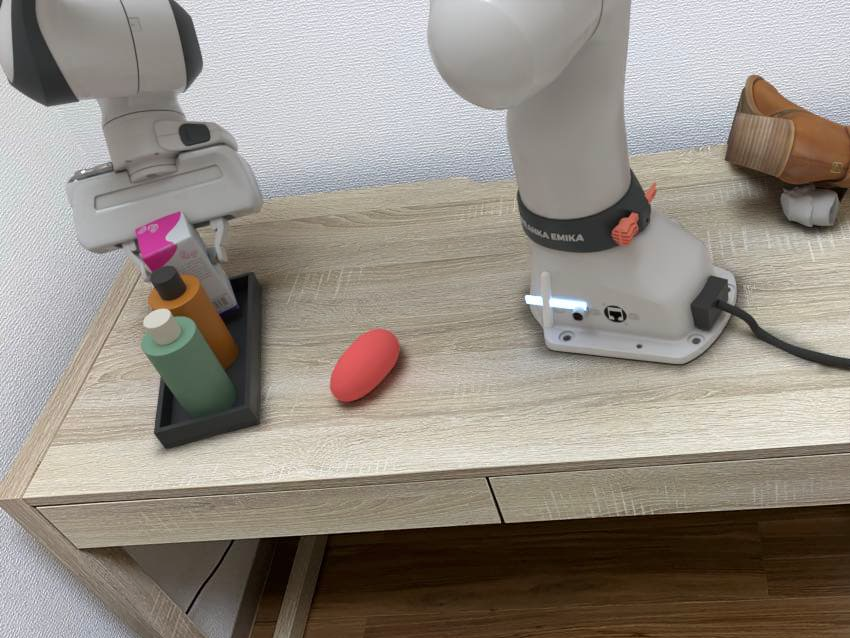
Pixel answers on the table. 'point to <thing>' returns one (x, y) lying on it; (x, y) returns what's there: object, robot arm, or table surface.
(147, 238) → the supplement box
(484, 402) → the table surface
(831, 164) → the boot
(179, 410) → the tray
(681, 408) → the table surface
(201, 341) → the sage bottle
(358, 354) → the stress ball
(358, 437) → the table surface
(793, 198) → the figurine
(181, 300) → the amber bottle
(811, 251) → the table surface
